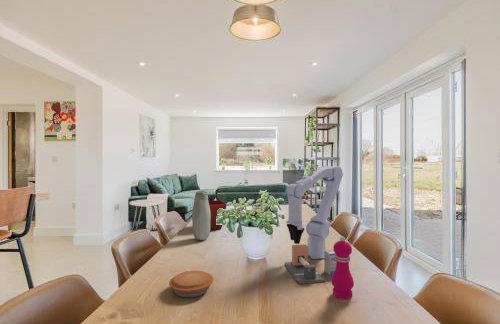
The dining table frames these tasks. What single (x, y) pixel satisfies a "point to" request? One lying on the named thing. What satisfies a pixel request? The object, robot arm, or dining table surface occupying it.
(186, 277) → the pie
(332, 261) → the medicine box
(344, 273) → the pepper mill
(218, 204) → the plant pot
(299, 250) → the collar
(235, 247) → the dining table surface
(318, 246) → the robot arm
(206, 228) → the grey vase
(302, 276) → the pipe stand
